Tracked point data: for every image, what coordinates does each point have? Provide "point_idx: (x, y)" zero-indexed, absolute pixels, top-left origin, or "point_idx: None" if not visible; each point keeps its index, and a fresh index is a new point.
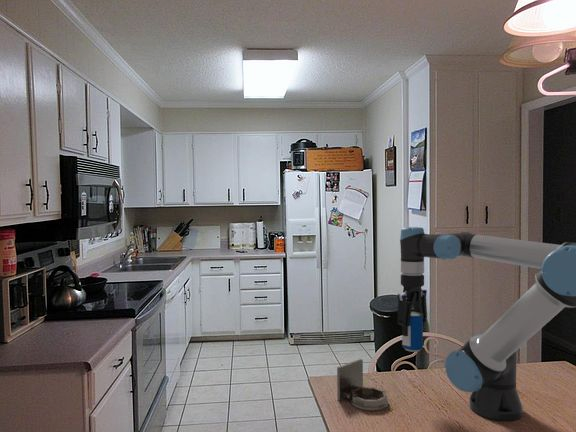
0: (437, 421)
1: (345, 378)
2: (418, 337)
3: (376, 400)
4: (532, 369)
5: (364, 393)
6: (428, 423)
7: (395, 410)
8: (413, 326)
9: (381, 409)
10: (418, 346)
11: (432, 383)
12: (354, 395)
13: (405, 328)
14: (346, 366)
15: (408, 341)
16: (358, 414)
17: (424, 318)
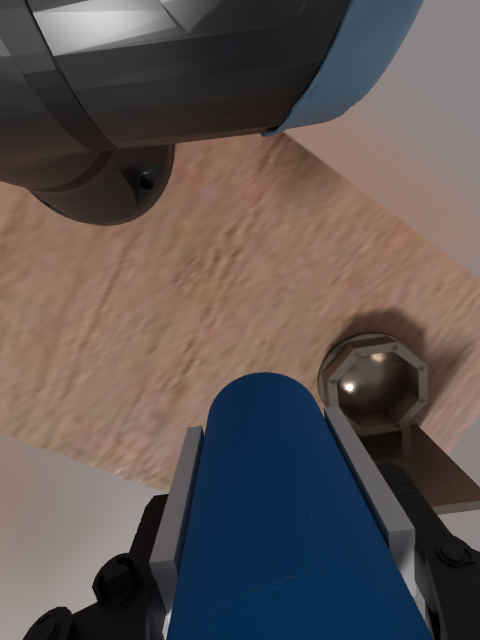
0: (307, 198)
1: (428, 467)
2: (290, 417)
3: (397, 348)
4: None
5: (352, 415)
6: (337, 204)
7: (346, 310)
8: (362, 514)
9: (374, 332)
10: (281, 383)
11: (119, 377)
12: (419, 403)
13: (442, 523)
14: (449, 500)
15: (350, 430)
16: (439, 345)
17: (73, 620)
